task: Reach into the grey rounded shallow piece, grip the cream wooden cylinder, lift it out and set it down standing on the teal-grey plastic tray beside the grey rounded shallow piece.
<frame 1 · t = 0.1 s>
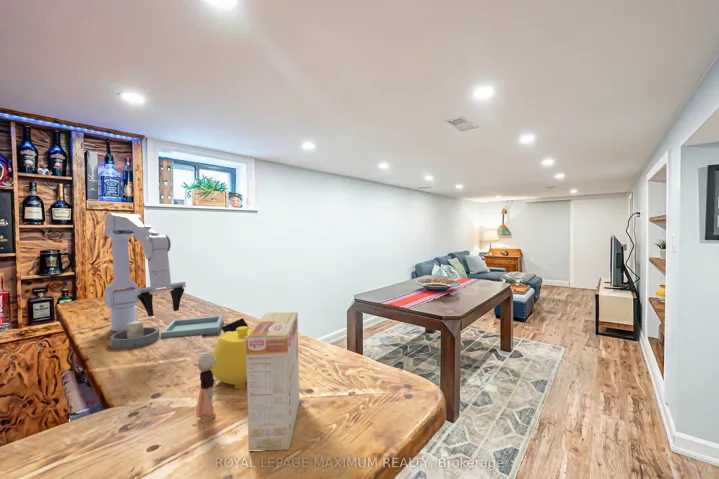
hand: (163, 313, 101), 10 cm above the bar counter, tool pointing down, fingers open, 7 cm apart
handheld gaming console: (243, 339, 107), on the bar counter
teapot: (247, 380, 77), on the bar counter
grey rounded shallow piece: (135, 343, 103), on the bar counter
cylinder: (135, 341, 103), point 1 cm above the bar counter, touching grey rounded shallow piece
tray: (194, 330, 116), on the bar counter
coffeecake box: (277, 425, 59), on the bar counter
grandmother figurine: (207, 417, 61), on the bar counter
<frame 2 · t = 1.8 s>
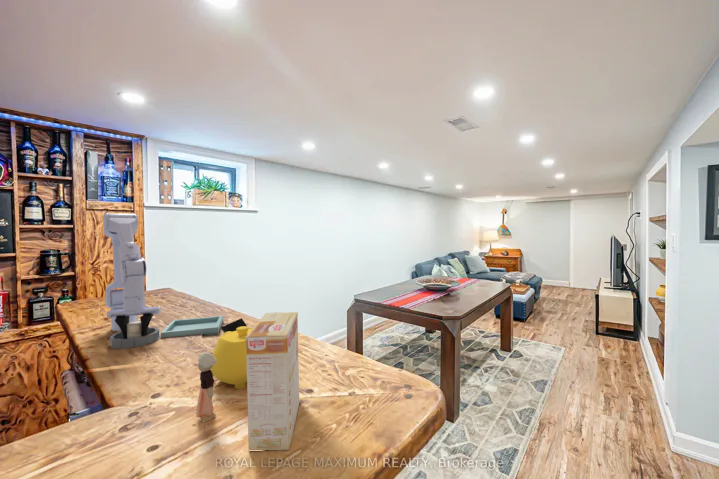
hand: (135, 337, 103), 2 cm above the bar counter, tool pointing down, fingers closed on cylinder, 4 cm apart
cylinder: (135, 341, 103), point 1 cm above the bar counter, touching grey rounded shallow piece, gripper
everything else where it was.
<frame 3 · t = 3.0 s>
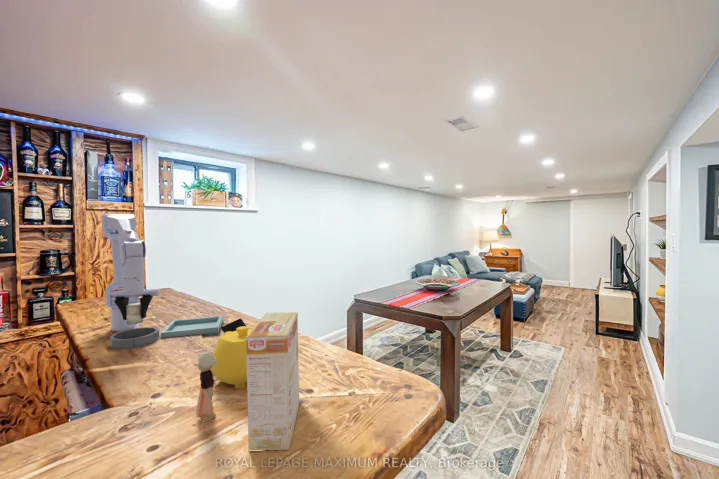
hand: (134, 318, 102), 8 cm above the bar counter, tool pointing down, fingers closed on cylinder, 4 cm apart
cylinder: (134, 322, 103), point 7 cm above the bar counter, touching gripper
everything else where it was.
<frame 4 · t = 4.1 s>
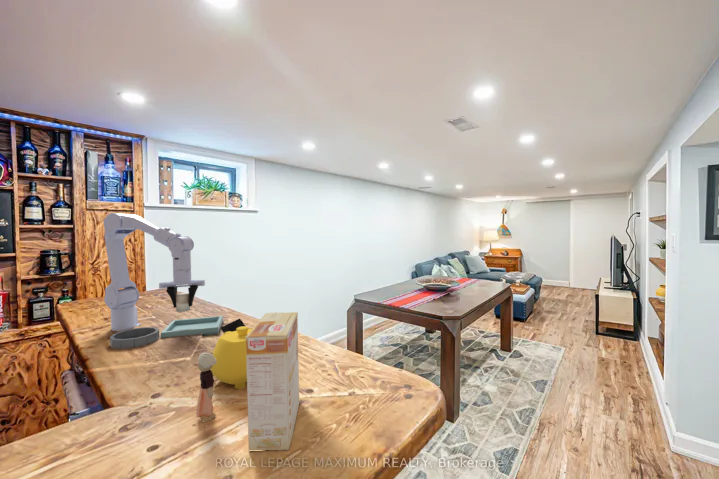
hand: (183, 306, 114), 9 cm above the bar counter, tool pointing down, fingers closed on cylinder, 4 cm apart
cylinder: (183, 310, 114), point 8 cm above the bar counter, touching gripper
everything else where it was.
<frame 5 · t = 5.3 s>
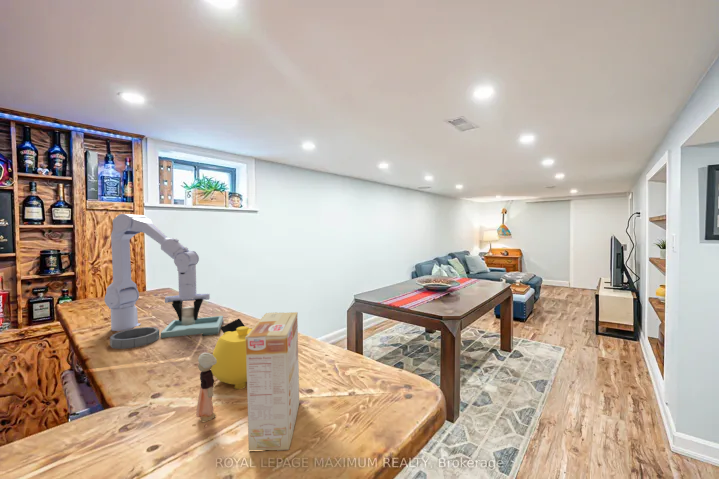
hand: (188, 320, 115), 4 cm above the bar counter, tool pointing down, fingers closed on cylinder, 4 cm apart
cylinder: (188, 323, 115), point 3 cm above the bar counter, touching gripper
everything else where it was.
when the fingers open (4 cm above the bar counter, at t = 6.2 s): cylinder drops 1 cm, resting on tray.
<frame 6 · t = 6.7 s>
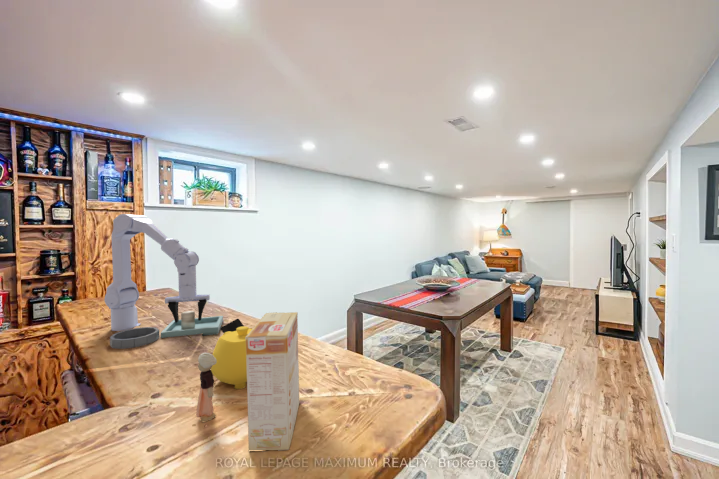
hand: (188, 320, 115), 4 cm above the bar counter, tool pointing down, fingers open, 7 cm apart
cylinder: (188, 328, 115), point 1 cm above the bar counter, touching tray
everything else where it was.
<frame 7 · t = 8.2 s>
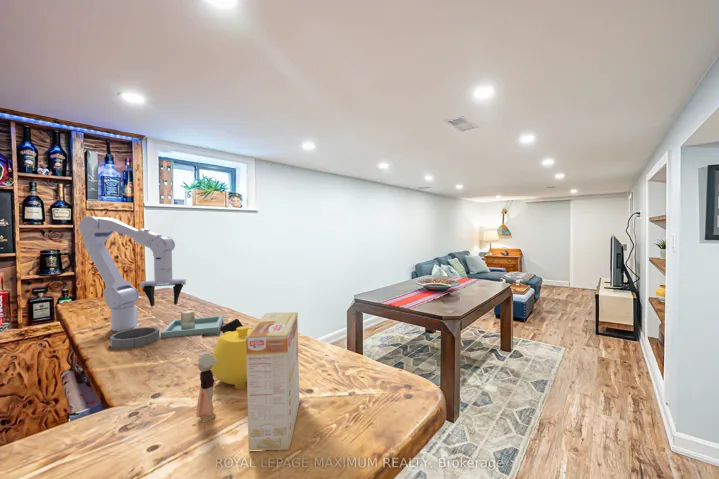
hand: (164, 304, 117), 9 cm above the bar counter, tool pointing down, fingers open, 7 cm apart
nothing on the bar counter moved.
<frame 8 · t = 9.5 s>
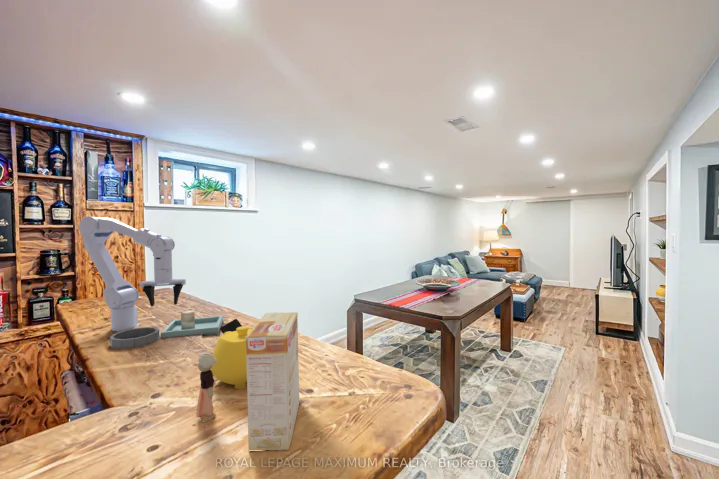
hand: (164, 304, 117), 9 cm above the bar counter, tool pointing down, fingers open, 7 cm apart
at the end: cylinder inside the target area on the tray (2.1 cm from its centre), point 0.8 cm above the tray's base; cylinder tilted 1°; the gripper is holding nothing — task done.
